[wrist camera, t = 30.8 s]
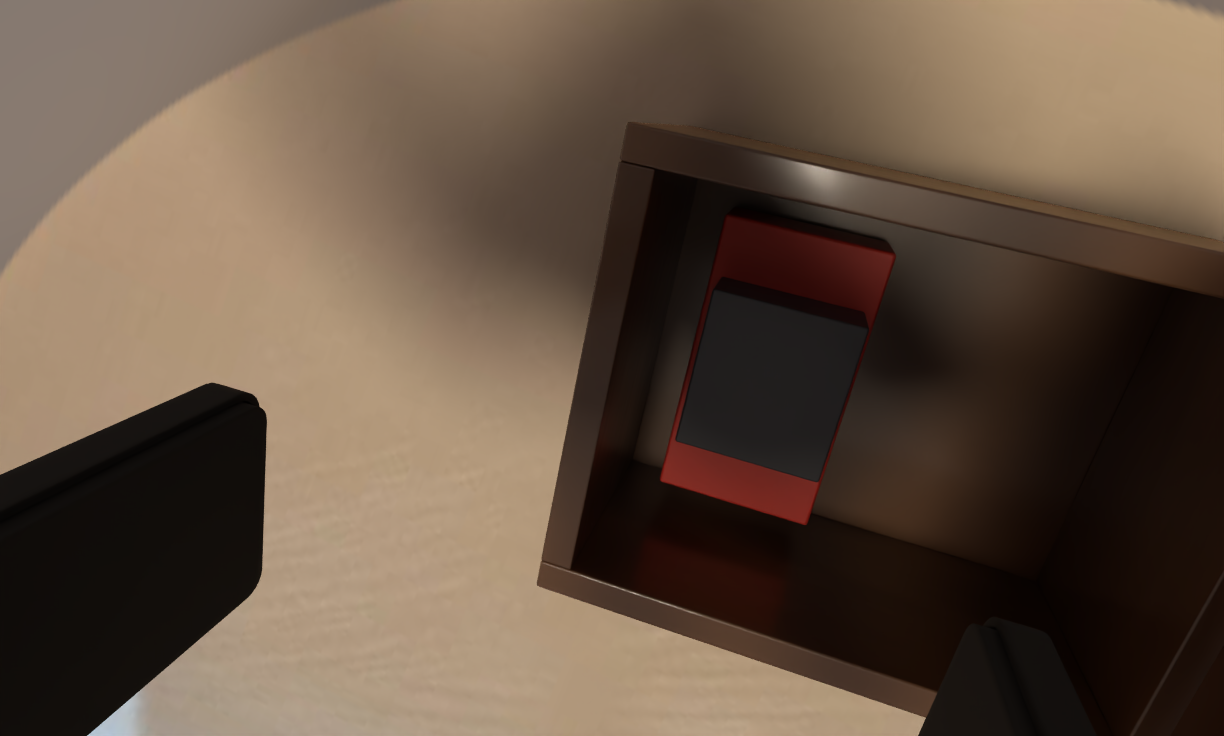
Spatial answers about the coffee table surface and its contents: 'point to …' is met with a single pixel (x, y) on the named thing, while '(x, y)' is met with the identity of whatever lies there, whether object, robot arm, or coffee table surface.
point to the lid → (1206, 705)
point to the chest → (918, 438)
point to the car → (774, 361)
